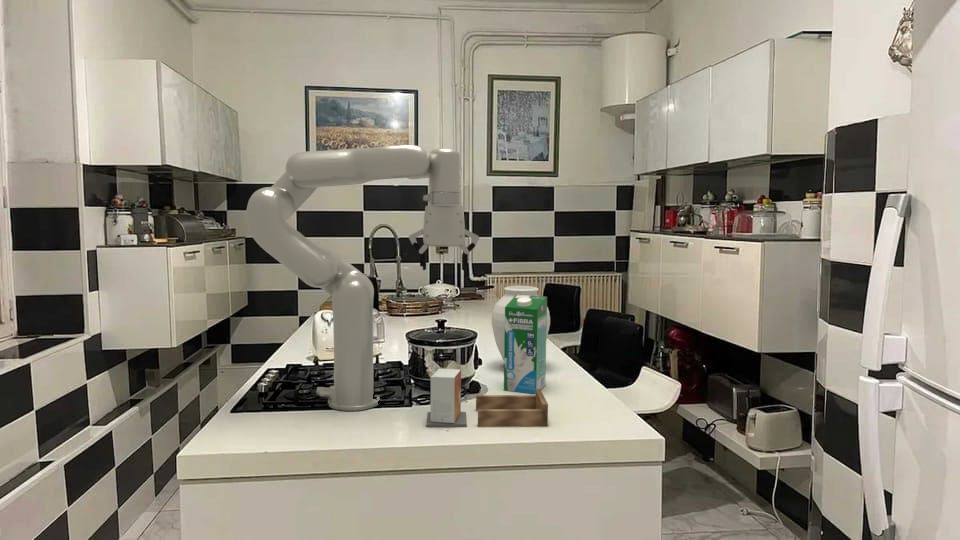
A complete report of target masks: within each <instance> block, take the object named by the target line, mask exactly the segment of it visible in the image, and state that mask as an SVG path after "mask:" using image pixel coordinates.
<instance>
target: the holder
mask: <svg viewBox="0 0 960 540" xmlns="http://www.w3.org/2000/svg"><path fill="white" fill-rule="evenodd" d="M548 409H549V403H548V401H547V399H546V397H545V395H544V394H543V391H542V389H536V390H535V394H521V395H520V394H509V395H508V394H507V395H506V394H501V395H500V394H491V395H489V394H483V395H482V394H477V395H475V411H476V412H477V427H548V426H549V425H548V421H549V417H548V416H549V410H548Z"/></svg>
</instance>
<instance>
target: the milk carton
mask: <svg viewBox="0 0 960 540" xmlns="http://www.w3.org/2000/svg"><path fill="white" fill-rule="evenodd" d="M547 307H548V296H541V295H538V296H529V295H515V296H514V298H513V299H512V300H511V301H510V302H509V303H508V304H507V305H506V307H505V340H504V360H503V391H507V392H516V393H521V394H522V393H524V394H529V395H535V390H536V389H541V390H542V389H543V388H544V387H546V374H547V373H546V370H547V369H546V367H547V361H546V360H547V340H546V327H547Z"/></svg>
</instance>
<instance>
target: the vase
mask: <svg viewBox="0 0 960 540" xmlns="http://www.w3.org/2000/svg"><path fill="white" fill-rule="evenodd" d="M503 289H504V291H505V293H504V294H503V296H501V298H500V299H499V300H498V301H496V303H495V306H494V308H493V310H492V314H491V326H492V332H493V333H492V334H493V336H494V342H495V345H496V347H497V349H498V351H499V354H500V356H501V359H502V361H504V340H505V307H506V305H507V304H508V303H509V302H510V301H511V300H512V299H513V298H514V296H515V295H529V296H539V294H538V291H540V290H539V288H538V287H536V286H531V285H508V286H505V287H504V288H503ZM550 326H551V315H550V310H549V307H548V306H547V327H546V341H547V340H548V335H549V330H550Z"/></svg>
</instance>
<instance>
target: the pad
mask: <svg viewBox="0 0 960 540" xmlns="http://www.w3.org/2000/svg"><path fill="white" fill-rule="evenodd" d="M467 420H468V419H467V411H461V413H460V415H459V416H458V418H457V419H456V421H455V423H441V422H431V411H427V415H426V422H425V423H426V425H425V426H426V428H466V427H468V423H467Z"/></svg>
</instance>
